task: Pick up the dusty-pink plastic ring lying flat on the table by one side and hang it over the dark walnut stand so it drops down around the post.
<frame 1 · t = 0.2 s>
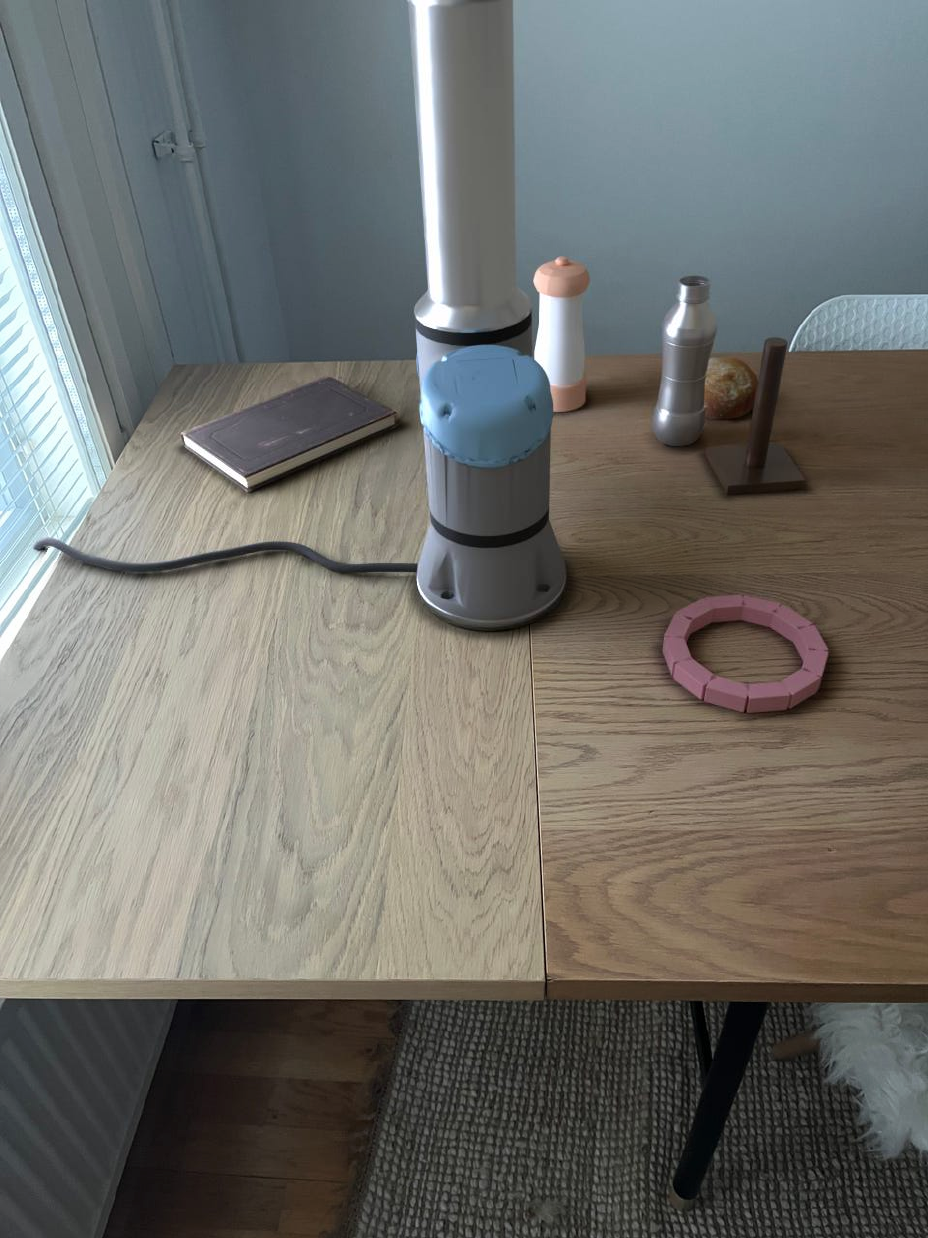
silver bottle: (676, 440, 120), on the table
hardcover book: (291, 437, 124), on the table
salt shaker: (558, 401, 129), on the table
bread roll: (718, 403, 127), on the table
ring: (742, 657, 88), on the table
stand: (753, 471, 113), on the table
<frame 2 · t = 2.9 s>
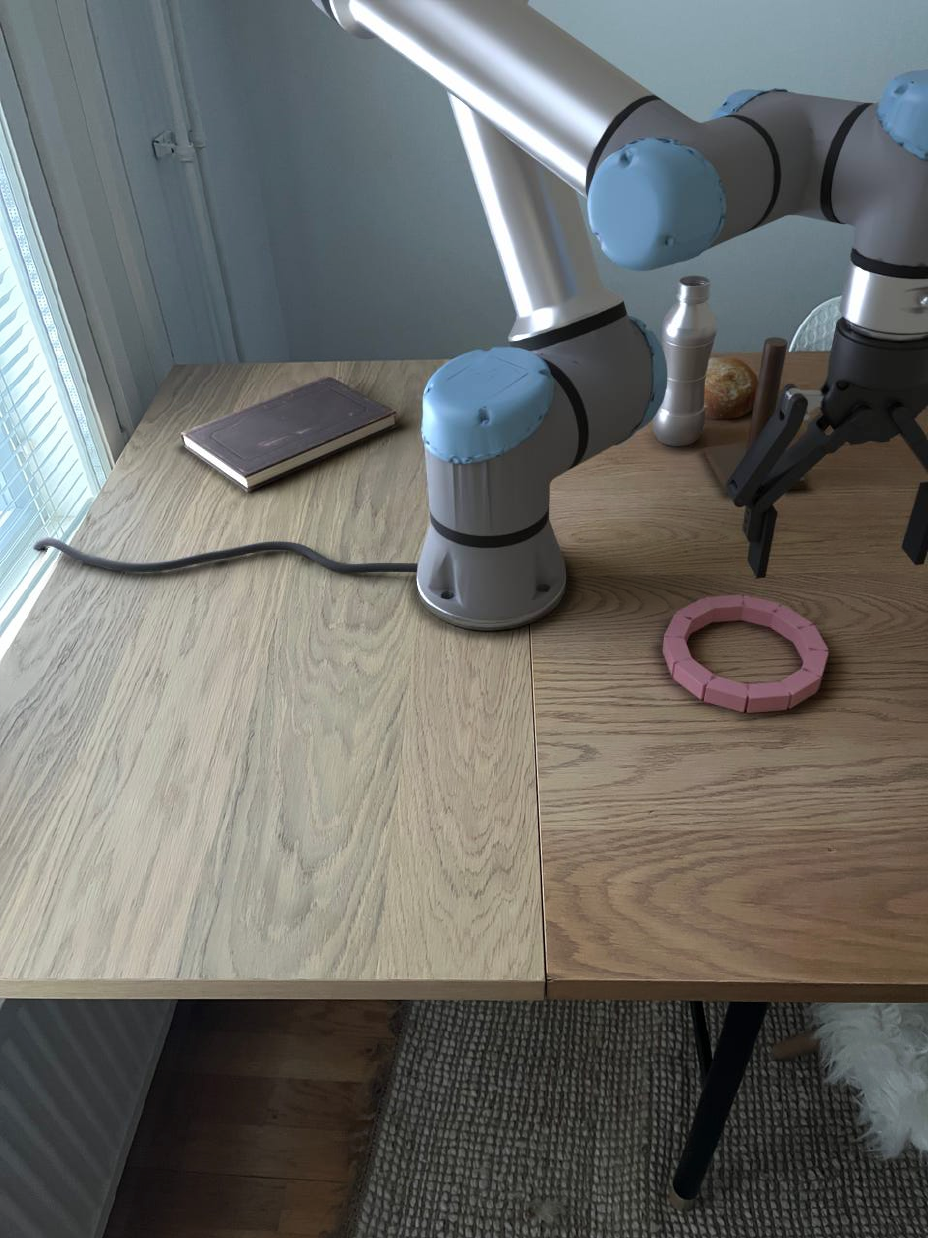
hand: (834, 562, 81), 10 cm above the table, tool pointing down, fingers open, 13 cm apart
nothing on the table moved.
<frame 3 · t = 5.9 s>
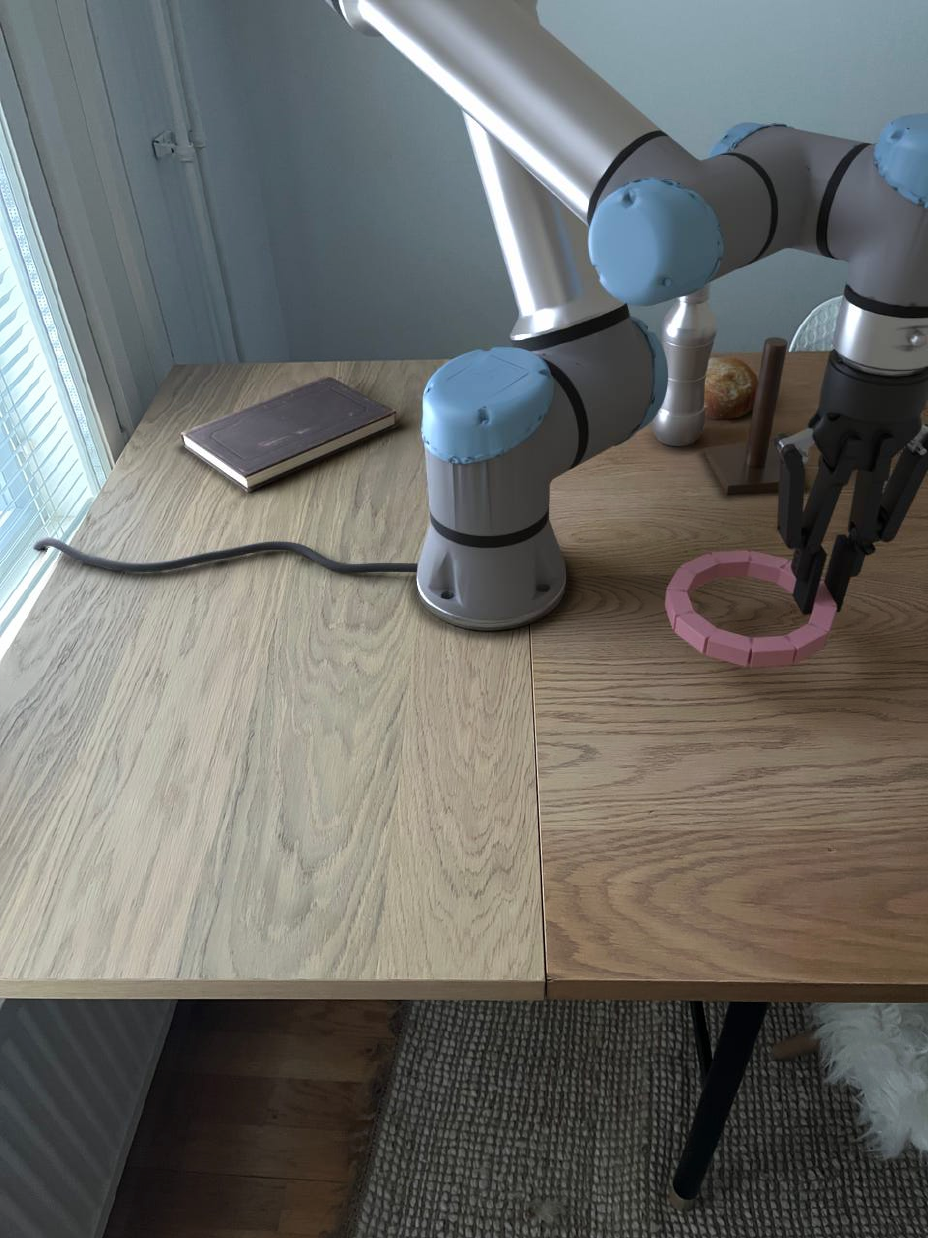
hand: (815, 603, 85), 6 cm above the table, tool pointing down, fingers closed on ring, 2 cm apart
ring: (747, 613, 85), point 5 cm above the table, touching gripper
everything else where it was.
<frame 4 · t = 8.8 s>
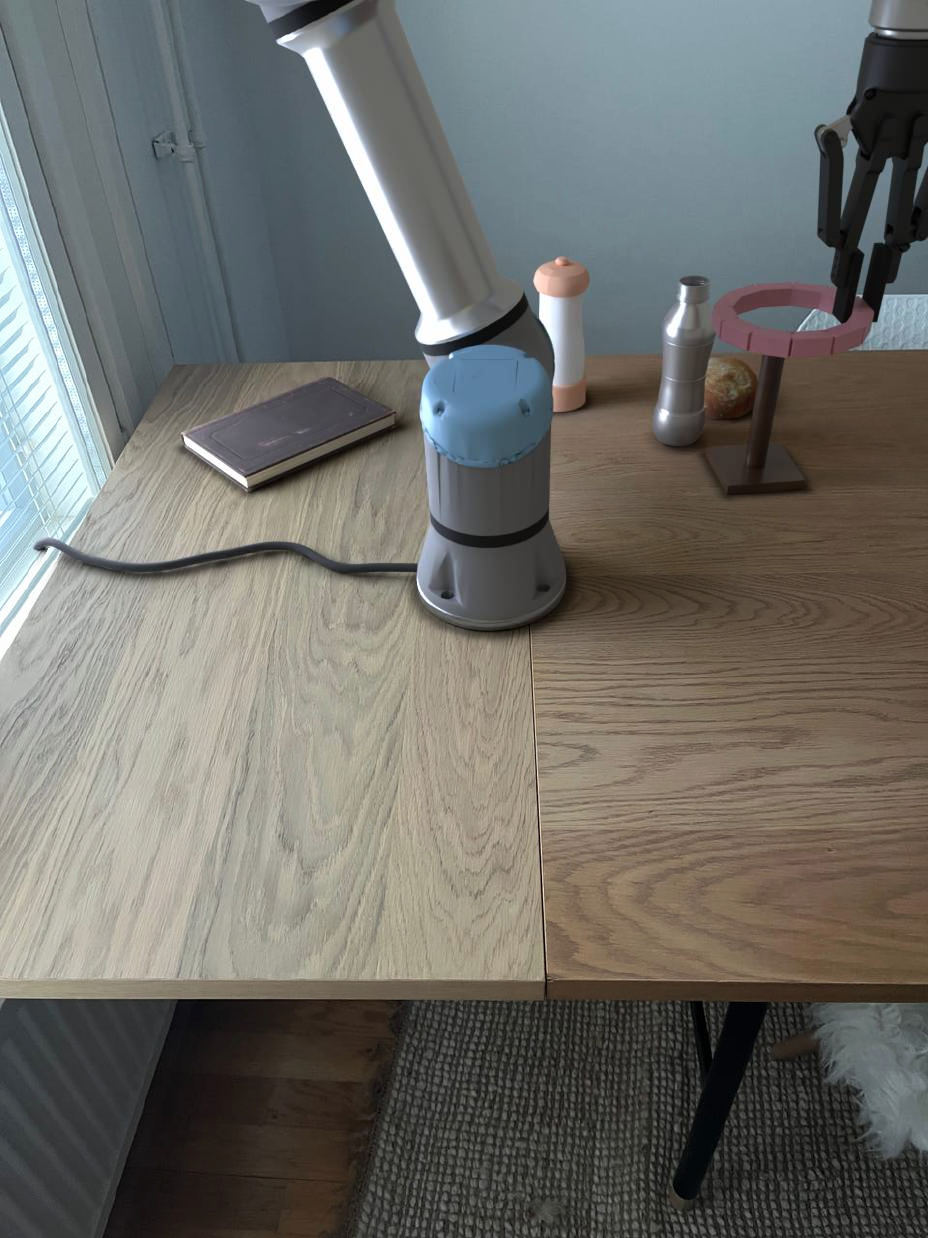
hand: (854, 317, 90), 23 cm above the table, tool pointing down, fingers closed on ring, 2 cm apart
ring: (789, 327, 91), point 22 cm above the table, touching gripper
everything else where it was.
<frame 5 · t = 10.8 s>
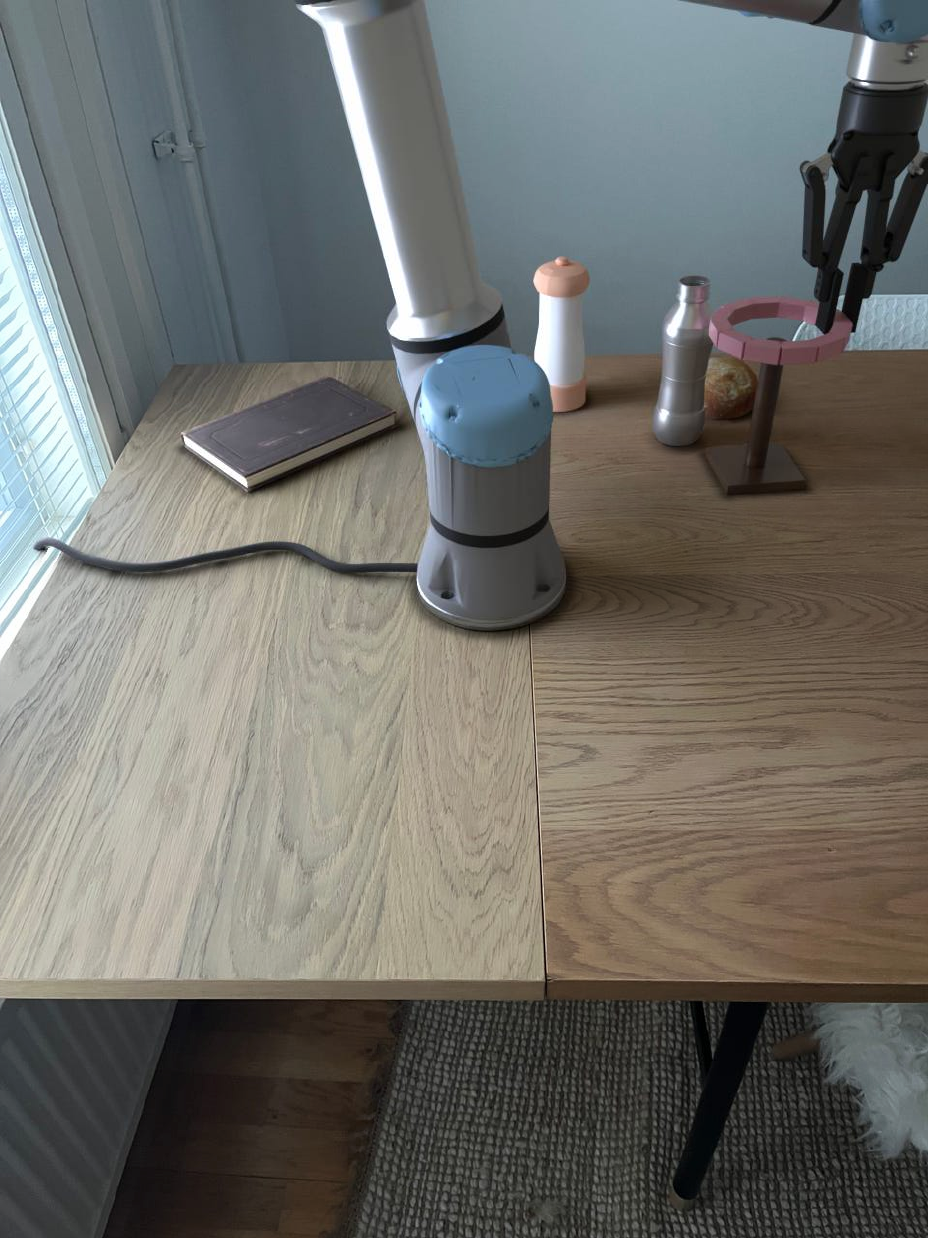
hand: (834, 328, 102), 17 cm above the table, tool pointing down, fingers closed on ring, 2 cm apart
ring: (777, 337, 102), point 17 cm above the table, touching gripper
everything else where it was.
when the fingers open (14 cm above the table, at t = 12.1 s): ring drops 12 cm, resting on stand.
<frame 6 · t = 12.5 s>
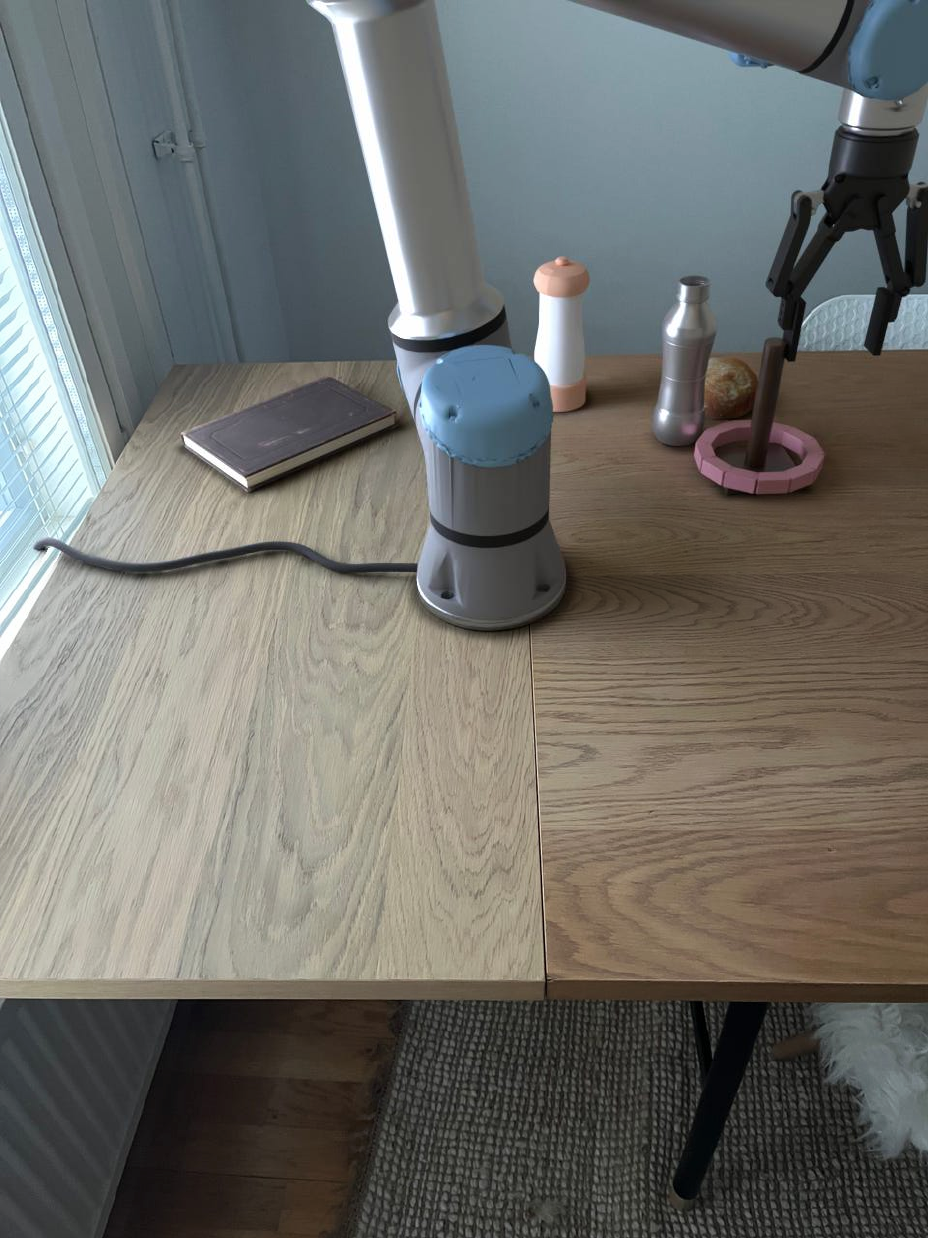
hand: (829, 353, 104), 14 cm above the table, tool pointing down, fingers open, 9 cm apart
ring: (756, 461, 112), point 1 cm above the table, touching stand
everything else where it was.
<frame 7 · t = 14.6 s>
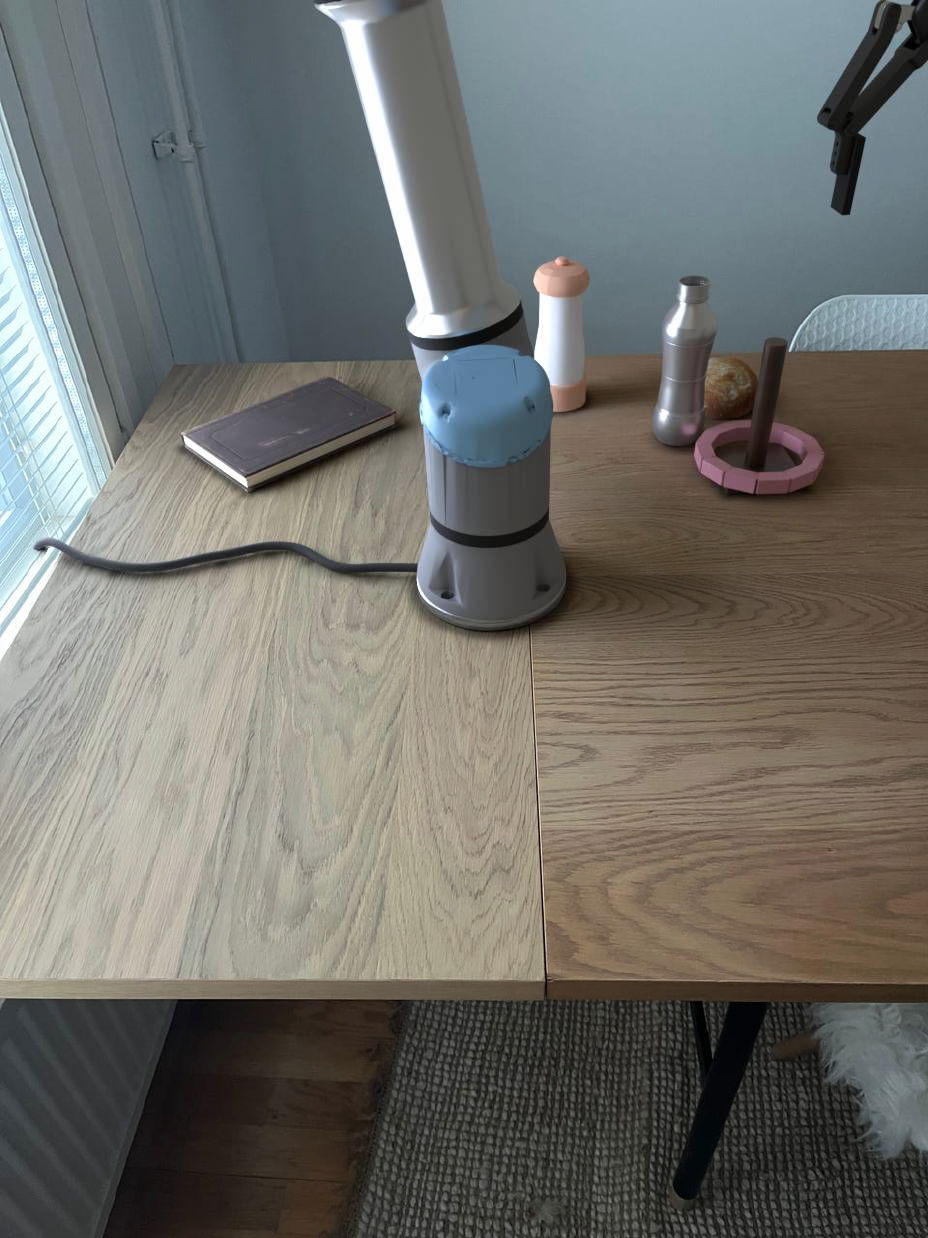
hand: (911, 206, 88), 31 cm above the table, tool pointing down, fingers open, 13 cm apart
nothing on the table moved.
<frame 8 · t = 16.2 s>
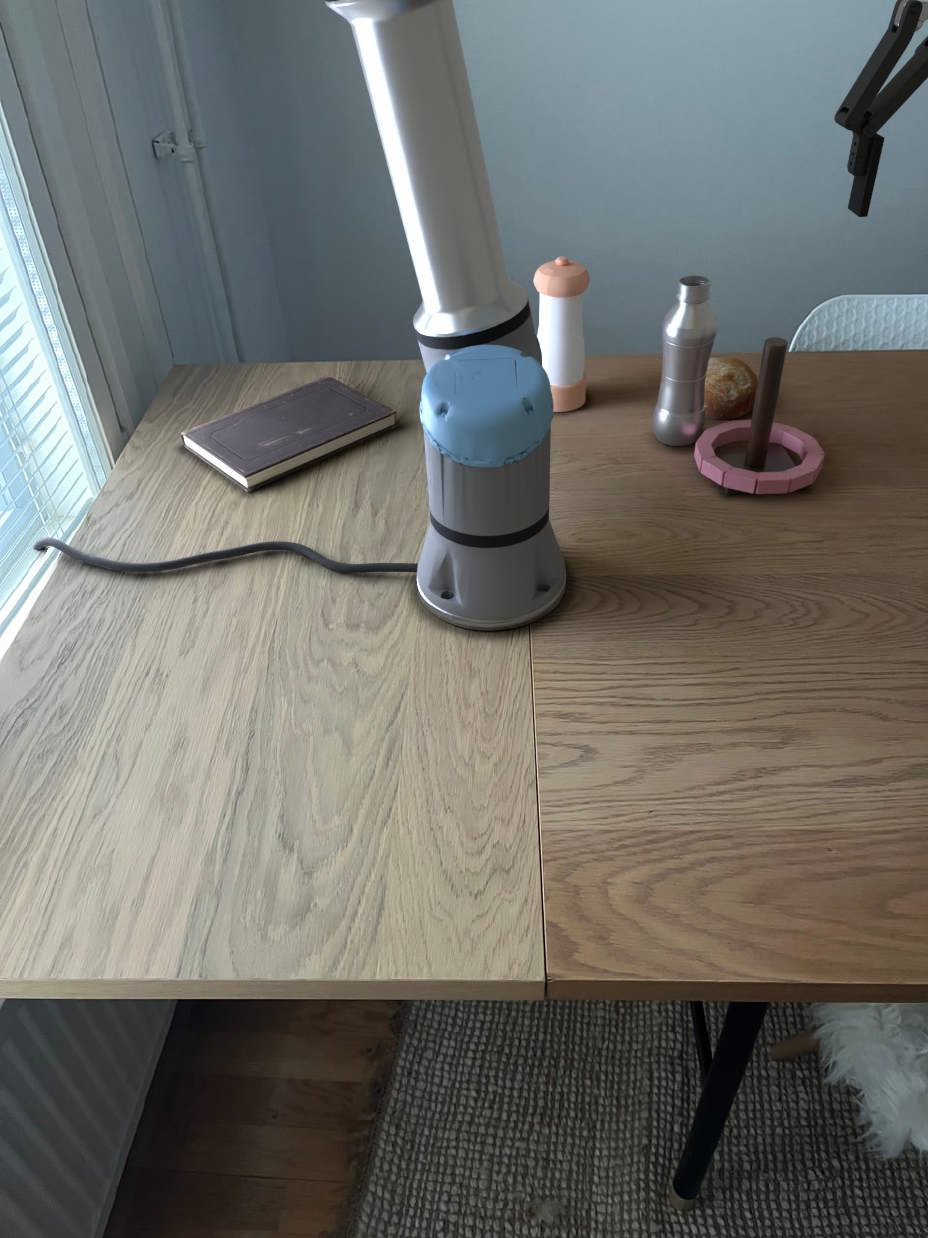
nothing on the table moved.
at the end: ring inside the target area on the stand (0.4 cm from its centre), point 1.2 cm above the stand's base; the gripper is holding nothing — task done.
